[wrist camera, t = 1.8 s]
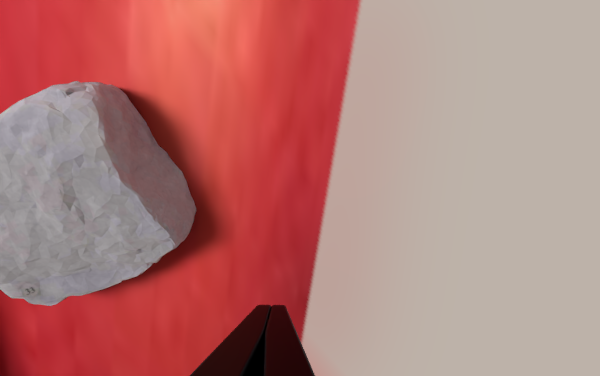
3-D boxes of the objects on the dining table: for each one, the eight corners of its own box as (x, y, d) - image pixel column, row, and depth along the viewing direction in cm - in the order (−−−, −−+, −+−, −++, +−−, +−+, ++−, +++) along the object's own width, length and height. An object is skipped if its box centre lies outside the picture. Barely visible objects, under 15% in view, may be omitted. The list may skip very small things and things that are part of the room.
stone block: (223, 208, 19) (114, 61, 15) (203, 256, 15) (42, 69, 11) (87, 272, 21) (-41, 161, 17) (36, 331, 17) (-153, 200, 13)
